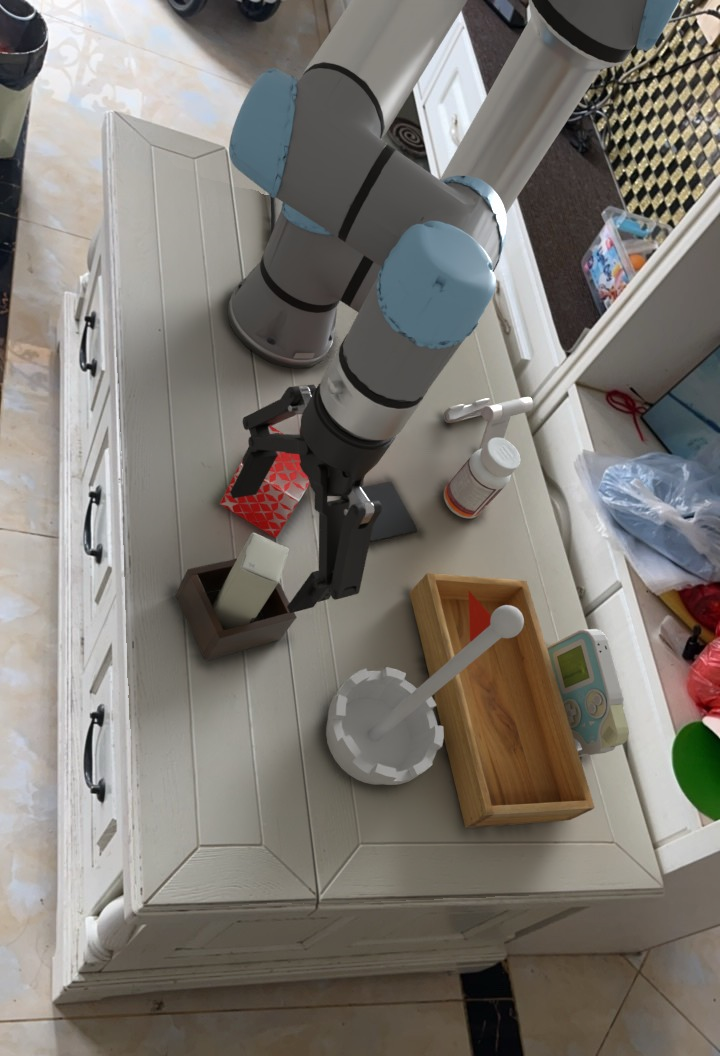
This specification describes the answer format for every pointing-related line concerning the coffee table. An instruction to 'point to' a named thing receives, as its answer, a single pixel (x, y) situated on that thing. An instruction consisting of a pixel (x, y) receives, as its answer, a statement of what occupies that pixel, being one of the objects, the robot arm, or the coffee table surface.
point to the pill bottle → (481, 478)
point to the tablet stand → (490, 415)
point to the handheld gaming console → (590, 691)
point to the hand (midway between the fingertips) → (271, 549)
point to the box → (250, 581)
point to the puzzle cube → (271, 494)
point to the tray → (500, 708)
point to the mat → (389, 513)
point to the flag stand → (403, 708)
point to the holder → (207, 624)
